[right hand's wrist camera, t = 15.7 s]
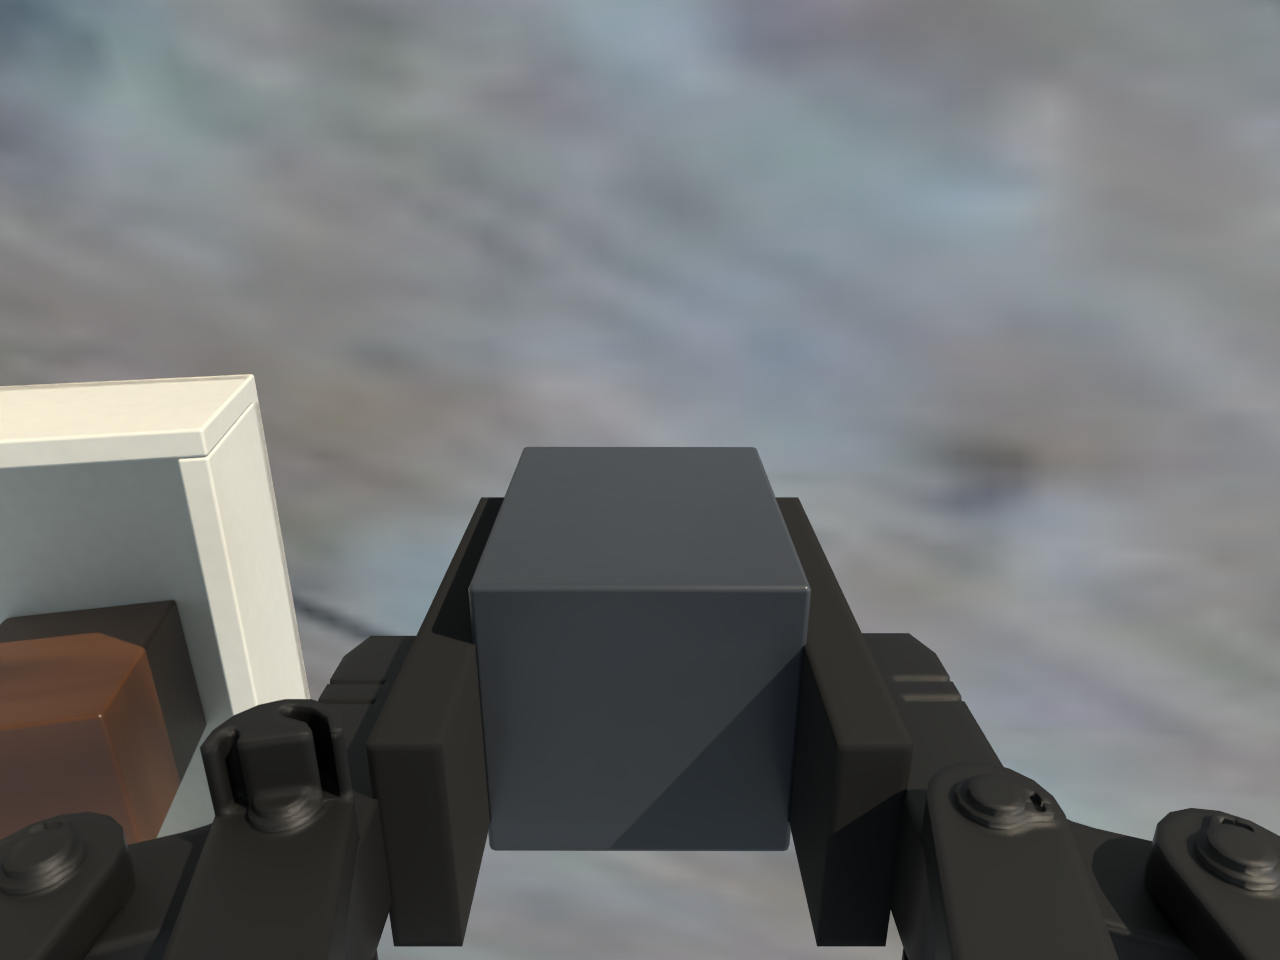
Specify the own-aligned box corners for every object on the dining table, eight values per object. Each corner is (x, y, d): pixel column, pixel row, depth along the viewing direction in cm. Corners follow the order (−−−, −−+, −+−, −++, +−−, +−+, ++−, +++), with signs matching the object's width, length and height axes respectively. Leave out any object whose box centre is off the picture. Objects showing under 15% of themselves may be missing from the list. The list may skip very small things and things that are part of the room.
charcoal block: (746, 646, 16) (790, 853, 11) (533, 646, 16) (488, 853, 11) (757, 446, 14) (813, 586, 10) (522, 445, 14) (466, 586, 10)
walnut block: (208, 724, 23) (147, 864, 19) (49, 745, 23) (-55, 895, 18) (176, 598, 22) (101, 715, 17) (5, 616, 21) (-120, 743, 17)
